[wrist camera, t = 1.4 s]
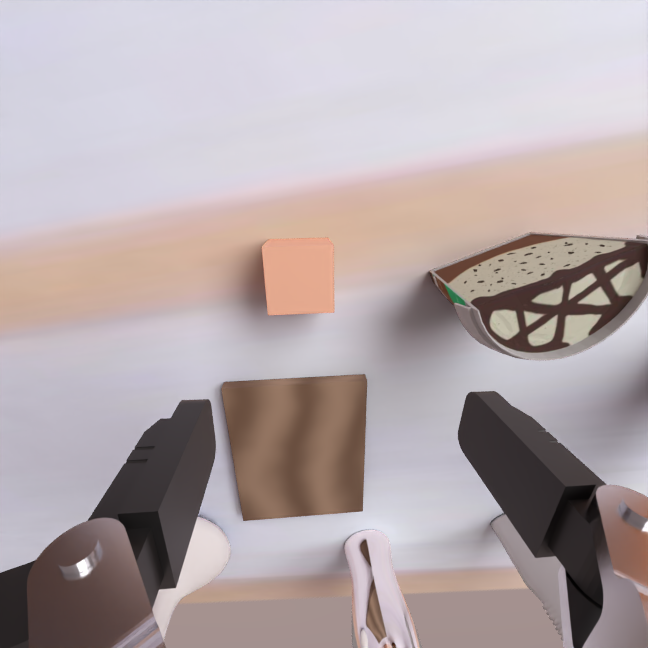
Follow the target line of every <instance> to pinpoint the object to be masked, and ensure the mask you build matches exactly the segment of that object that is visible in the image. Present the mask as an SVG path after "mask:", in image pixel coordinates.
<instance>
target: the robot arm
mask: <svg viewBox="0 0 648 648" xmlns="http://www.w3.org/2000/svg"><path fill="white" fill-rule="evenodd" d="M458 440H459V444H460V447H461V449H462V451H463V453H464V454H465V456H466V457H467V459H468V460H469V462H470V463H471V465H472V466H473V467H474V469H475V470H476V472H477V473H478V475H479V476H480V478H481V479H482V481H483V482H484V484H485V485H486V487H487V488H488V489H489V491H490V492H491V494H492V495H493V497H494V498H495V500H496V501H497V503H498V504H499V506H500V507H501V508H502V510H503V511H504V513H505V514H506V516H507V517H508V519H509V520H510V522H511V523H512V525H513V526H514V528H515V529H516V530H517V532H518V533H519V535H520V536H521V538H522V539H523V541H524V542H525V544H526V545H527V547H528V548H529V550H530V551H531V552H532V554H533V555H534V557H535V558H542V557H553V556H556V557H557V559H558V560H559V561H560V563H561V566H560V568H559V571H558V582H559V595H560V607H561V620H562V632H563V643H564V644H563V645H564V648H648V497H646V496H645V495H643V494H641V493H638V492H636V491H634V490H631V489H628V488H625V487H622V486H617V485H606V484H605V483H604V482H603V481H602V480H601V479H600V478H599V477H597V476H596V475H595V474H594V473H593V472H592V471H591V470H590V469H589V468H587V467H586V466H585V465H584V464H583V463H582V462H581V461H580V460H579V459H577V458H576V457H575V456H574V455H573V454H572V453H571V452H570V451H569V450H567V449H566V448H565V447H564V446H563V445H562V444H561V443H558V442H557V440H556V439H555V438H554V437H553V436H552V435H551V434H550V433H549V432H546V431H545V429H544V428H543V427H542V426H541V425H540V424H539V423H537V422H536V421H535V420H534V419H533V418H532V417H530V416H529V415H527V414H525V413H523V412H522V411H520V410H518V409H517V408H515V407H512V406H511V405H510V404H509V403H508V402H507V401H506V400H505V399H504V398H503V397H502V396H501V395H499V394H498V393H497V392H494V391H488V392H470V393H468V395H467V396H466V400H465V404H464V408H463V412H462V417H461V421H460V425H459V430H458ZM215 450H216V441H215V432H214V424H213V416H212V408H211V403H210V401H209V400H208V399H207V400H182V401H181V402H180V403H179V405H178V406H177V408H176V410H175V412H174V414H173V415H172V417H171V418H170V419H160V420H159V421H157V422H156V423H155V424H154V425H153V426H151V427H150V428H149V429H148V430H146V431H145V432H144V434H143V435H142V437H141V439H140V440H139V442H138V443H137V445H136V446H135V450H133V451H132V453H131V454H130V456H129V457H128V459H127V462H126V464H124V465H123V467H122V468H121V470H120V471H119V473H118V474H117V476H116V478H115V479H114V481H113V482H112V484H111V485H110V487H109V489H108V490H107V492H106V493H105V495H104V496H103V498H102V499H101V501H100V503H99V504H98V506H97V507H96V509H95V510H94V512H93V513H92V515H91V517H90V518H89V519H88V521H86V522H83V523H81V524H79V525H77V526H75V527H73V528H71V529H69V530H68V531H66V532H65V533H63V534H62V535H60V536H59V537H58V538H56V539H55V540H54V541H53V542H52V543H51V544H50V545H49V546H47V547H46V548H45V549H44V551H43V552H42V553H41V554H40V555H39V557H38V558H37V560H35V561H32V562H30V563H27V564H25V565H22V566H19V567H16V568H13V569H10V570H7V571H4V572H2V573H0V648H166V647H165V644H164V641H163V638H162V635H161V632H160V629H159V626H158V624H157V622H156V620H155V617H154V614H153V611H152V609H153V606H154V603H155V600H156V597H157V594H158V591H159V590H160V589H172V588H176V586H177V583H178V580H179V576H180V573H181V570H182V566H183V563H184V560H185V556H186V553H187V550H188V547H189V543H190V540H191V537H192V533H193V530H194V527H195V523H196V520H197V517H198V513H199V510H200V507H201V503H202V500H203V497H204V493H205V490H206V487H207V483H208V480H209V477H210V473H211V470H212V467H213V463H214V459H215Z"/></svg>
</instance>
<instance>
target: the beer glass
mask: <svg viewBox="0 0 648 648" xmlns="http://www.w3.org/2000/svg"><path fill="white" fill-rule="evenodd" d="M344 551H345V555H346V559H347V562H348V565H349V569H350V574H351V581H352V647H353V648H422V646H421V642H420V639H419V635H418V632H417V629H416V627H415V624H414V621H413V618H412V616H411V613H410V611H409V608H408V606H407V603H406V601H405V599H404V596H403V594H402V591H401V589H400V587H399V584H398V582H397V579H396V576H395V573H394V569H393V564H392V557H391V546H390V541H389V538H388V537H387V536H386V535H385V534H384V533H382V532H380V531H377V530H363V531H360V532H357V533H355V534H353V535H352V536H351V537H349V538H348V540H347V541H346V543H345V546H344Z"/></svg>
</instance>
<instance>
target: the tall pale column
mask: <svg viewBox="0 0 648 648" xmlns="http://www.w3.org/2000/svg"><path fill="white" fill-rule="evenodd" d="M491 526H492V528H493V530H494V531H495V533H496V535H497V536H498V538H499V540H500V541H501V543H502V545H503V547H504V548H505V550H506V552H507V554H508V555H509V557H510V559H511V560H512V562H513V564H514V565H515V567H516V569H517V570H518V572H519V574H520V576H521V577H522V579H523V581H524V582H525V584H526V585H527V587H528V588H529V589H530V590H531V591H532V592H533V593H534V594H535V595H536V596H537V597H538V598H539V599H540V601H541V602H542V603H543V609H545V610H546V614H547V615H549V619H550V620H552V621H553V625H555V626H556V628H555V629H556V630H558V634H559V635H561V639H562V641H563V632H562V620H561V607H560V595H559V582H558V571H559V568H560V566H561V563H560V561H559V560H558V559H557V557H556V556H553V557H542V558H535V557H534V555H533V554H532V552H531V551H530V550H529V548H528V547H527V545H526V544H525V542H524V541H523V539H522V538H521V536H520V535H519V533H518V532H517V530H516V529H515V528H514V526H513V525H512V523H511V522H510V520H509V519H508V517H507V516H506V514H505V513H504V514H502V515H500V516H498V517H496V518H495V519H494V520H493V521H492V522H491Z"/></svg>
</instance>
